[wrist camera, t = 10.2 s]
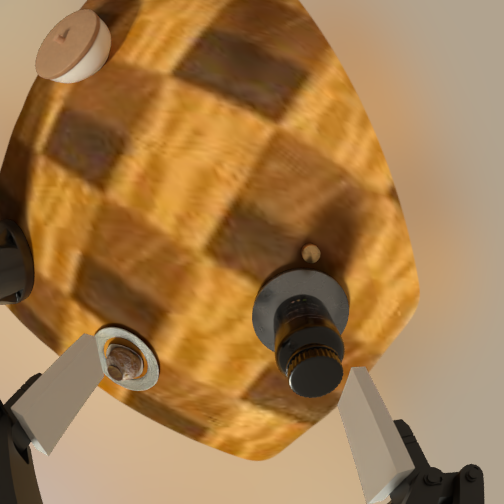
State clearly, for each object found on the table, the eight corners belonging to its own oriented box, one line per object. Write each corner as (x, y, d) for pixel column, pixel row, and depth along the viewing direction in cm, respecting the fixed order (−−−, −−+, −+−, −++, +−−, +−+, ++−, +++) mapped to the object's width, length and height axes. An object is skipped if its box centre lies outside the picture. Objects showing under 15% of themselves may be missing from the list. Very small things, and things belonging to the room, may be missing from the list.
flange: (247, 367, 36) (247, 373, 34) (258, 238, 32) (258, 240, 30) (331, 371, 35) (333, 377, 34) (358, 247, 31) (362, 250, 30)
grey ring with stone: (153, 396, 39) (144, 414, 34) (93, 364, 38) (80, 379, 34) (168, 346, 36) (158, 364, 32) (99, 311, 36) (82, 324, 31)
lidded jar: (122, 75, 27) (84, 50, 18) (63, 101, 28) (22, 88, 19) (125, 20, 25) (95, -9, 16) (69, 47, 26) (35, 28, 17)
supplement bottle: (331, 335, 33) (355, 397, 21) (278, 346, 34) (282, 412, 22) (324, 286, 31) (353, 337, 20) (267, 298, 32) (268, 356, 20)
